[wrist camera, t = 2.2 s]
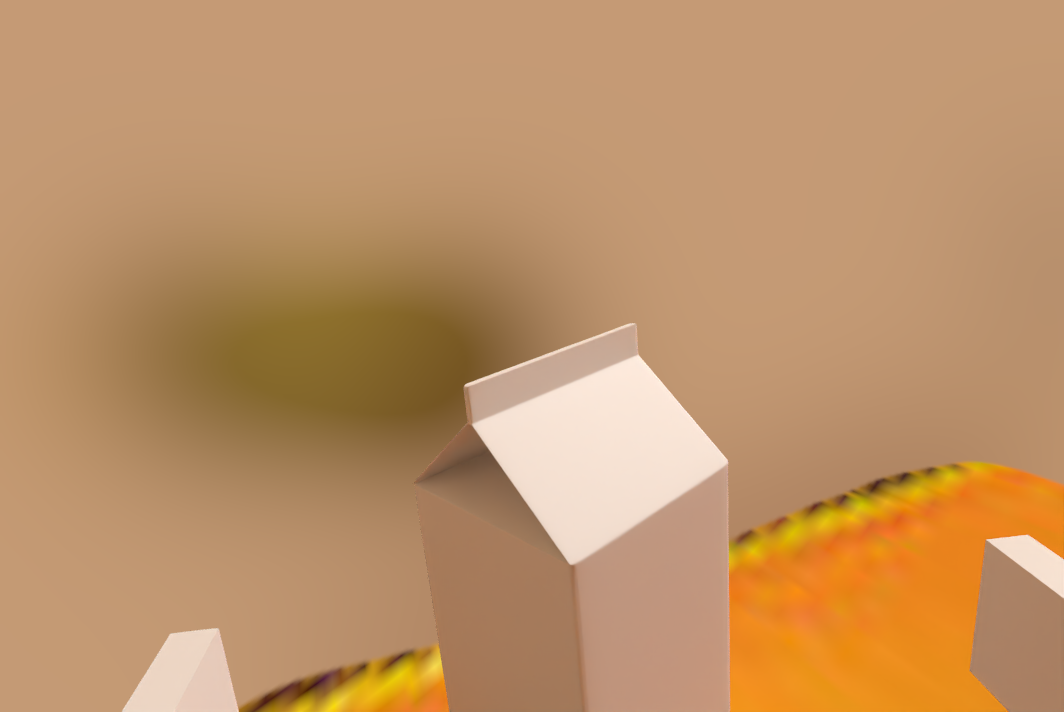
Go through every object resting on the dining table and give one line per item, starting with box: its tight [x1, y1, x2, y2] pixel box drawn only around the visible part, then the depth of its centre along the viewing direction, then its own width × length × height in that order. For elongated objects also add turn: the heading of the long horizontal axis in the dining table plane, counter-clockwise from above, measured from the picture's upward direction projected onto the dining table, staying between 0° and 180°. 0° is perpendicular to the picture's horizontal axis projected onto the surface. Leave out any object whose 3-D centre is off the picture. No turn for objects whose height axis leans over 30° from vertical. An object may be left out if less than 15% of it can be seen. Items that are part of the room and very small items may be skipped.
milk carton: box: [414, 323, 730, 712], centre depth 24 cm, size 7×7×19 cm
